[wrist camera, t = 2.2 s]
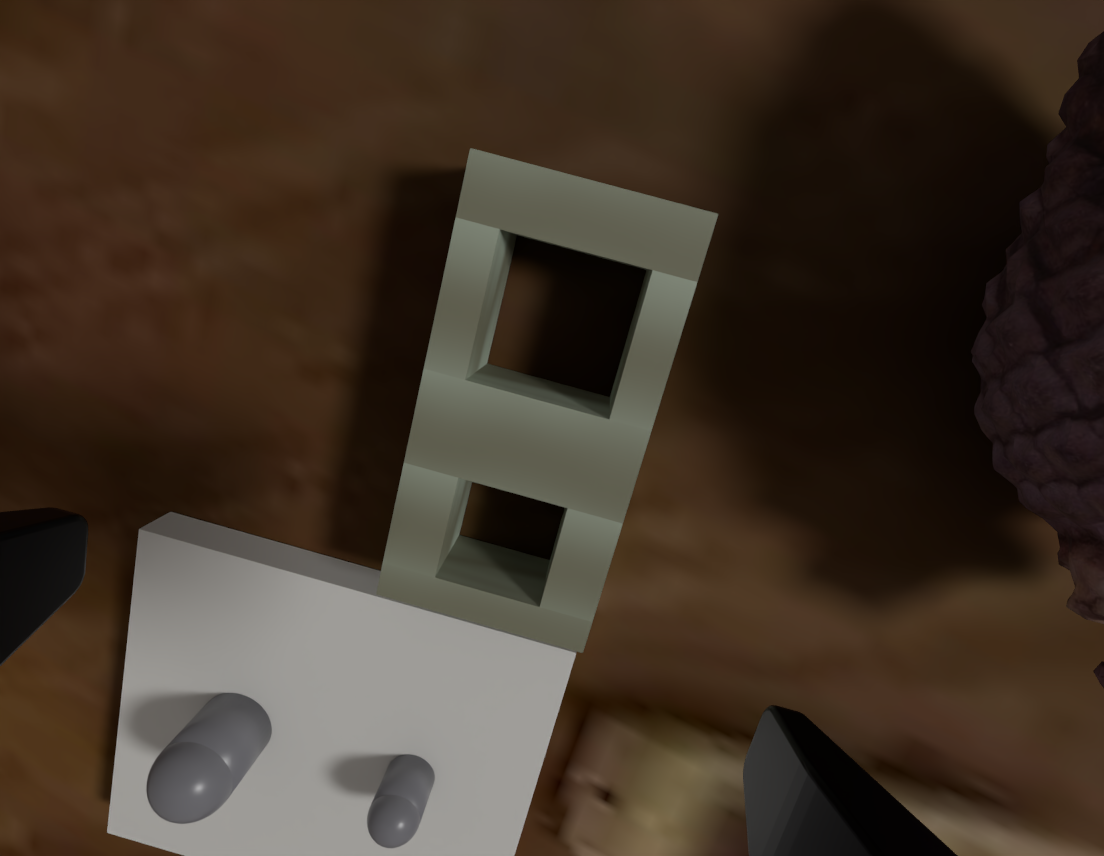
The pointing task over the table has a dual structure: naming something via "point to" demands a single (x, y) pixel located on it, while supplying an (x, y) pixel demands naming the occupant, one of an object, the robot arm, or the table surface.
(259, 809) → the post board
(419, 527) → the bar
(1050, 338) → the pine cone
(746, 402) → the table surface
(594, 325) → the table surface
